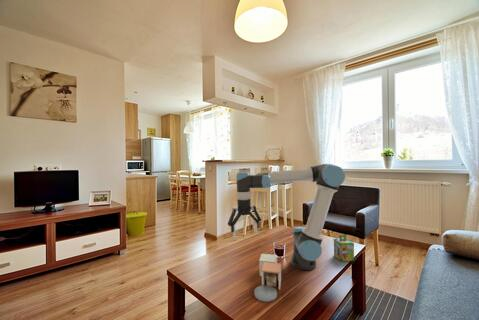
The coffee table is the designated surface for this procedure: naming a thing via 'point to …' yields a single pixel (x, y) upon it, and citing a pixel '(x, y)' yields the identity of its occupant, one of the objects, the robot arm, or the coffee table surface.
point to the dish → (265, 293)
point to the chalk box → (343, 249)
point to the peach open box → (271, 271)
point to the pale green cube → (266, 260)
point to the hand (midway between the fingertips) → (245, 235)
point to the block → (271, 279)
